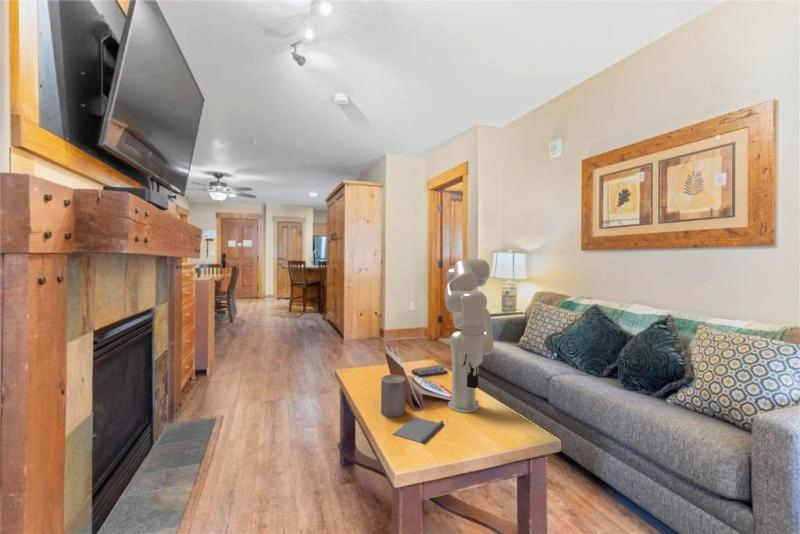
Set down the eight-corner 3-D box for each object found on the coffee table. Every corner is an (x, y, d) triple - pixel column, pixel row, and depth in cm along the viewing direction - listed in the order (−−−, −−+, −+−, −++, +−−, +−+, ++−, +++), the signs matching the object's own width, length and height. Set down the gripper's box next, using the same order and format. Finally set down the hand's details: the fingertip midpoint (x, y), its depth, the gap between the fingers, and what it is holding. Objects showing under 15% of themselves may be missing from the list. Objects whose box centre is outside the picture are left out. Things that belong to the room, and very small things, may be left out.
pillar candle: (388, 406, 147) (388, 370, 147) (409, 410, 143) (409, 373, 143) (376, 415, 139) (376, 376, 139) (398, 419, 134) (398, 380, 134)
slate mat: (414, 417, 136) (414, 413, 136) (444, 425, 130) (444, 421, 130) (392, 435, 122) (392, 430, 122) (424, 444, 116) (424, 439, 116)
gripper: (469, 326, 124) (469, 379, 124) (453, 333, 111) (453, 391, 111) (490, 328, 120) (490, 382, 120) (476, 335, 107) (476, 396, 107)
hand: (472, 386), depth 115 cm, fingers closed
